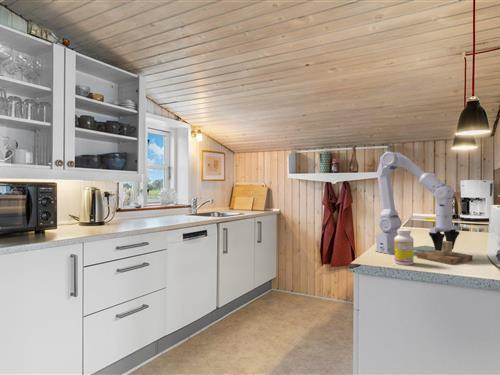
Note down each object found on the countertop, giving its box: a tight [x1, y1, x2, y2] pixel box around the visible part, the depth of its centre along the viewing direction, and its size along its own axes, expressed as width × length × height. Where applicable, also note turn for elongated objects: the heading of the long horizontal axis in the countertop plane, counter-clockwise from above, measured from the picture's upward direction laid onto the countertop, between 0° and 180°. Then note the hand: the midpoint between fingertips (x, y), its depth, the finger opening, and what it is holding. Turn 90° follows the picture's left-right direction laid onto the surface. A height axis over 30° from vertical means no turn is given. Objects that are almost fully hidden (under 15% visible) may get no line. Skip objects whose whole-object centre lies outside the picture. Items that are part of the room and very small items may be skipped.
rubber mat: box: [413, 245, 435, 252], centre depth 159 cm, size 12×12×1 cm
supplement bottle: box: [394, 228, 415, 266], centre depth 133 cm, size 7×7×13 cm
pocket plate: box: [416, 250, 473, 265], centre depth 140 cm, size 14×14×2 cm
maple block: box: [436, 240, 453, 256], centre depth 140 cm, size 4×4×7 cm
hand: (444, 249), depth 140 cm, fingers open, 7 cm apart
